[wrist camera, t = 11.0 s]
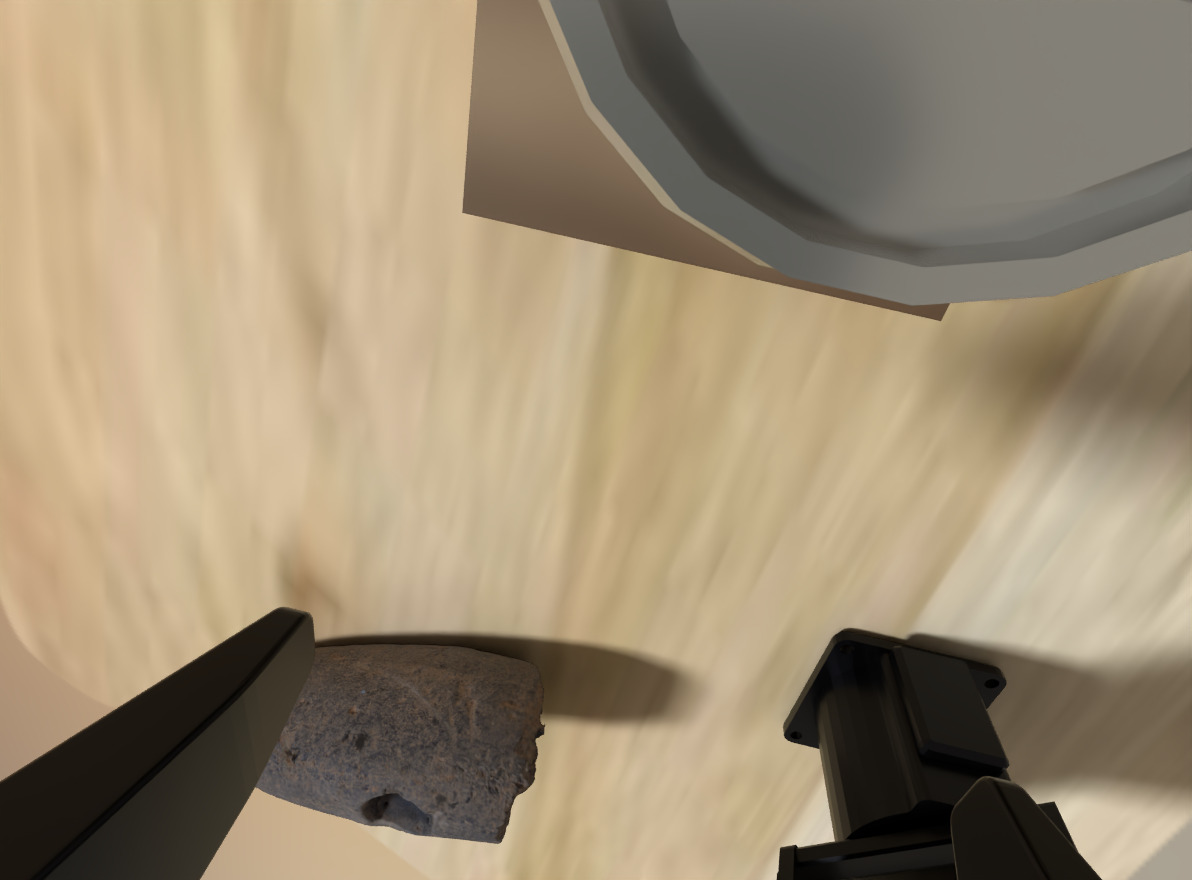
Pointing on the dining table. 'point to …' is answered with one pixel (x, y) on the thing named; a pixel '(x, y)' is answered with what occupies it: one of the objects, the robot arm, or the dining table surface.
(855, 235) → the beer can
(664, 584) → the dining table surface
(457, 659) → the perforated stone tool
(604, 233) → the walnut block
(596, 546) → the dining table surface
